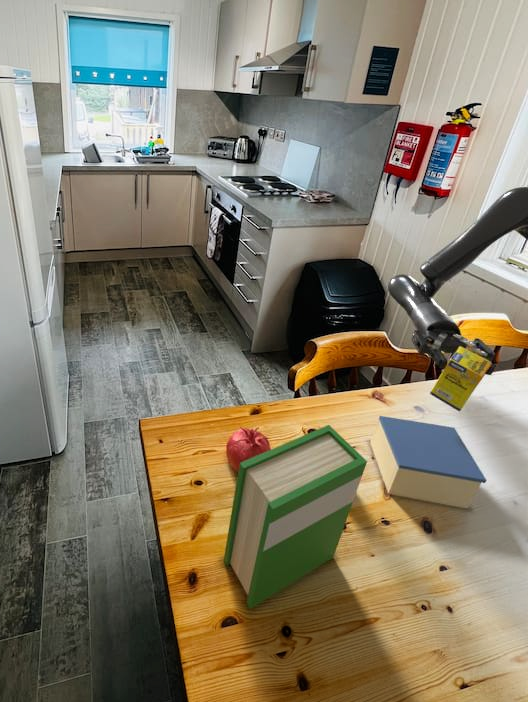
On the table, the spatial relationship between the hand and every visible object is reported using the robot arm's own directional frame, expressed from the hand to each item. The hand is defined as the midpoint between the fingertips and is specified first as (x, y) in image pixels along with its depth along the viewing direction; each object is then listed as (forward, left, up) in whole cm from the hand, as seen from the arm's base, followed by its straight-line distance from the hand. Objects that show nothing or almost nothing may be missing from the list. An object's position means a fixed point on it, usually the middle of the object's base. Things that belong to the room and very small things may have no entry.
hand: (467, 368), depth 80 cm
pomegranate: (+41, +12, -24) cm, 49 cm away
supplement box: (0, -2, -9) cm, 9 cm away
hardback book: (+36, +30, -24) cm, 53 cm away
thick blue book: (+6, +7, -24) cm, 25 cm away
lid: (+6, +7, -16) cm, 18 cm away
